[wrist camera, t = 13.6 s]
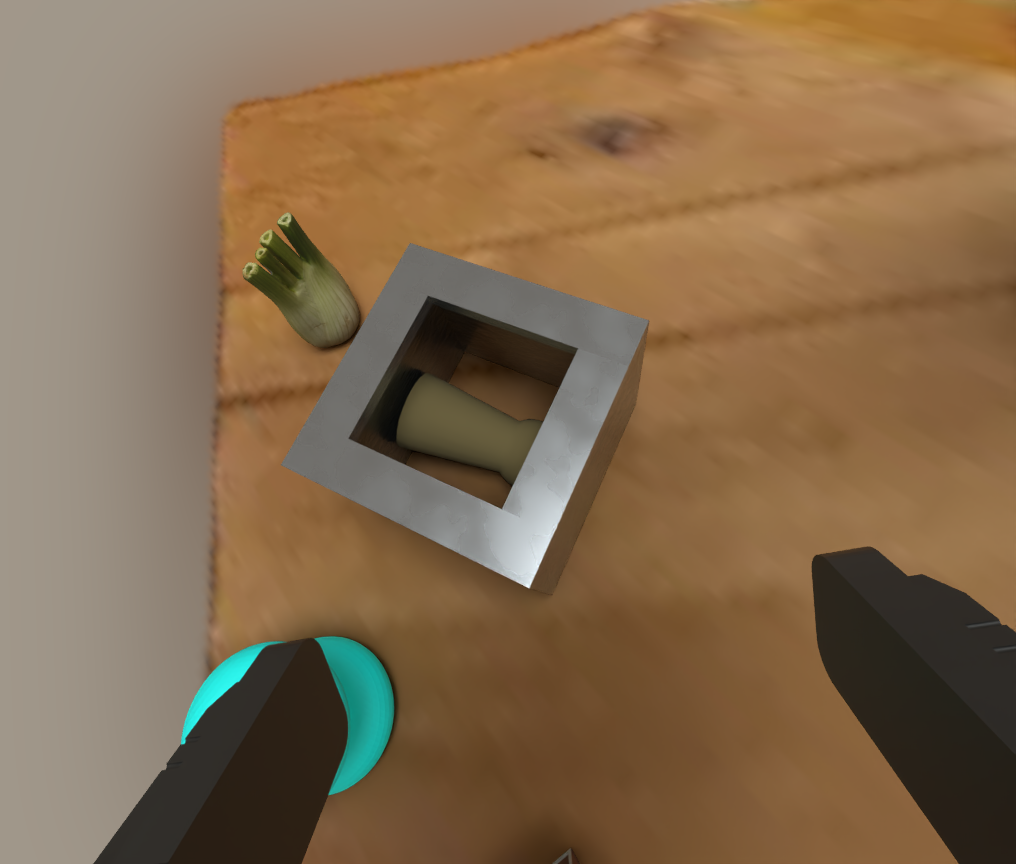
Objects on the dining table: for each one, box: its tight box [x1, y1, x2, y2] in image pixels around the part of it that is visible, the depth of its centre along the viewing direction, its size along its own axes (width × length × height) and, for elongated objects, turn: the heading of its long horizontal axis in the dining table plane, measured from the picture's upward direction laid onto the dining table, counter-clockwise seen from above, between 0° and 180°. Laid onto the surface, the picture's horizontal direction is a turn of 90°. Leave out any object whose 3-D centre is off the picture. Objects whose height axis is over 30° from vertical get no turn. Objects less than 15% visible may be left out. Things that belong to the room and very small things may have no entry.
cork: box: [396, 373, 543, 486], centre depth 41 cm, size 6×6×11 cm
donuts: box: [181, 636, 394, 795], centre depth 35 cm, size 10×10×10 cm
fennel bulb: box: [243, 212, 360, 348], centre depth 44 cm, size 6×5×12 cm
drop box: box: [281, 243, 649, 595], centre depth 37 cm, size 16×16×13 cm
